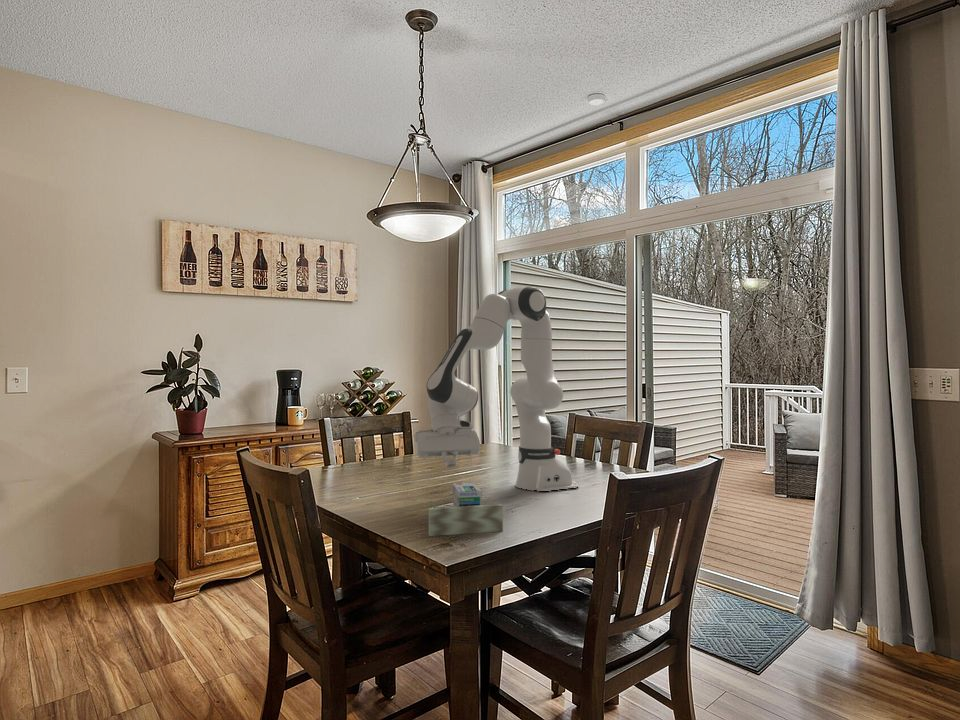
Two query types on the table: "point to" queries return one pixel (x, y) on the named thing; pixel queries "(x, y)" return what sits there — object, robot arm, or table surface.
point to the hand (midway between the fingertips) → (451, 465)
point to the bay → (465, 519)
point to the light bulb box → (466, 494)
